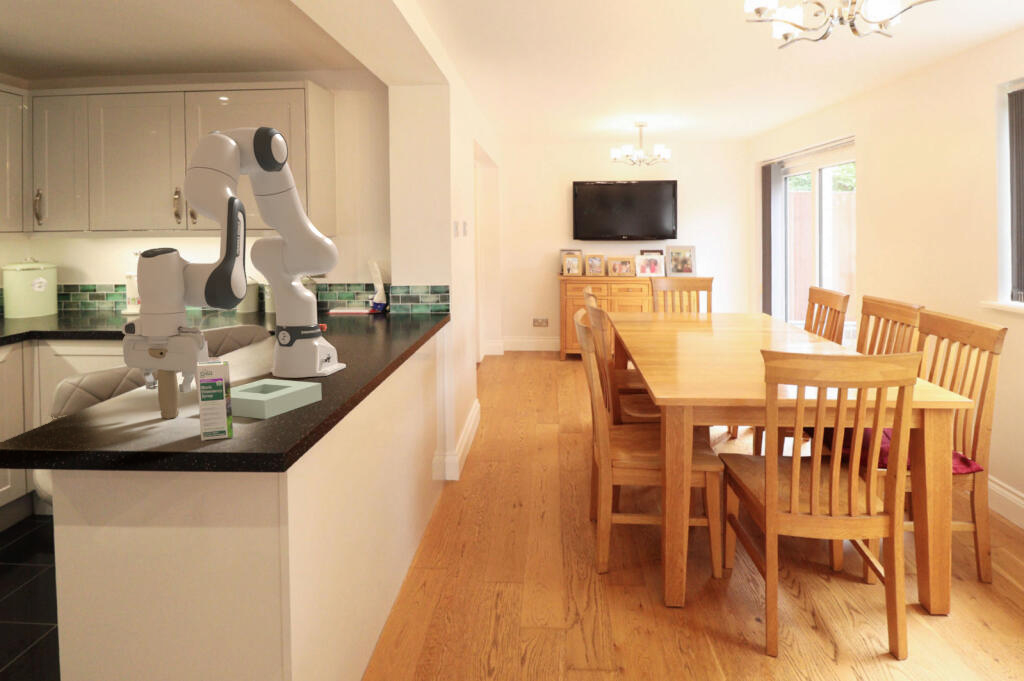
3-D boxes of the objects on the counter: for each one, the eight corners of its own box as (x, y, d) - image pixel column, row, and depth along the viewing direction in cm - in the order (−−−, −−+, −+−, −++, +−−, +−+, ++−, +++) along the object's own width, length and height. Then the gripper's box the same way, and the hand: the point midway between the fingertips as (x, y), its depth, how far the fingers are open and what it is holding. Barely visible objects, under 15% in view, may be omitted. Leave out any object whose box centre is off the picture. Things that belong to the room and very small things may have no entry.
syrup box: (200, 441, 133) (196, 365, 131) (200, 433, 138) (196, 360, 136) (233, 438, 135) (229, 363, 133) (232, 430, 141) (228, 358, 139)
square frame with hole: (266, 394, 174) (266, 378, 173) (321, 399, 169) (321, 383, 168) (205, 412, 155) (204, 394, 155) (265, 419, 150) (264, 400, 149)
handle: (181, 419, 149) (177, 349, 147) (149, 420, 149) (144, 350, 146) (189, 414, 154) (185, 346, 152) (158, 415, 153) (154, 346, 151)
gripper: (214, 326, 148) (218, 391, 150) (140, 322, 155) (144, 384, 157) (191, 329, 142) (195, 397, 144) (115, 325, 149) (120, 390, 151)
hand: (168, 390), depth 150 cm, fingers open, 8 cm apart
